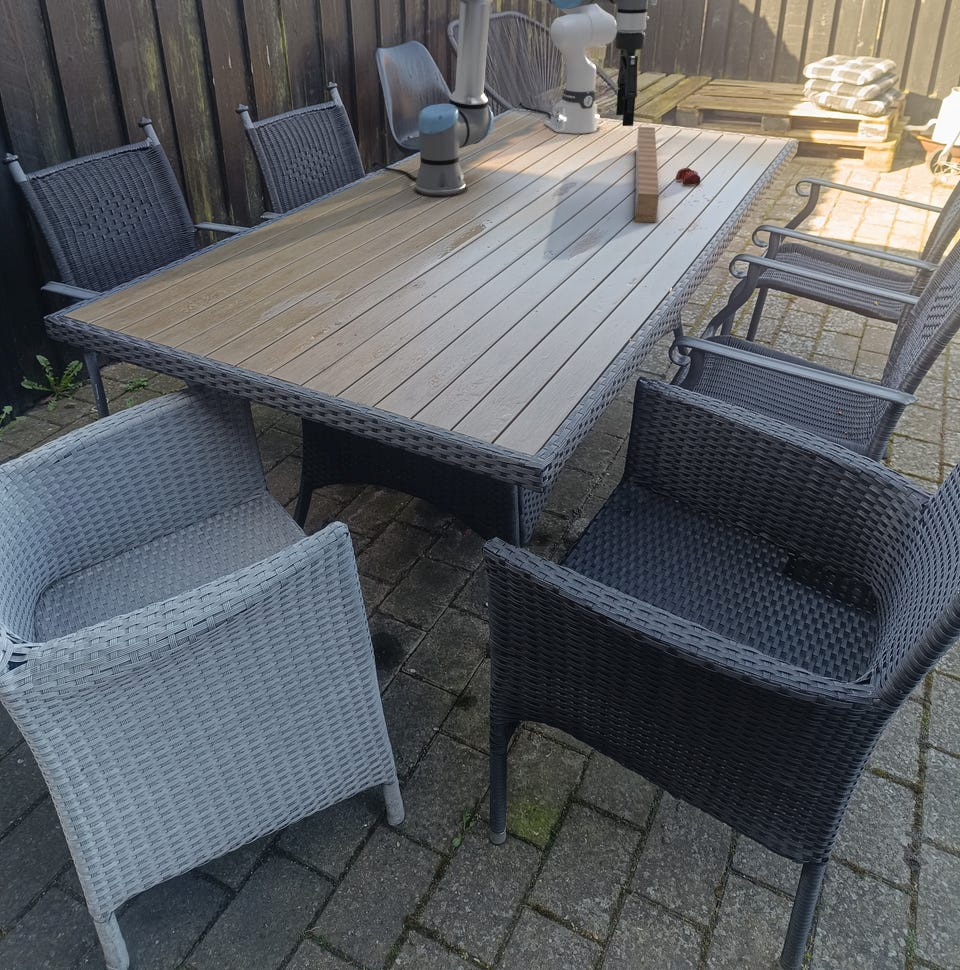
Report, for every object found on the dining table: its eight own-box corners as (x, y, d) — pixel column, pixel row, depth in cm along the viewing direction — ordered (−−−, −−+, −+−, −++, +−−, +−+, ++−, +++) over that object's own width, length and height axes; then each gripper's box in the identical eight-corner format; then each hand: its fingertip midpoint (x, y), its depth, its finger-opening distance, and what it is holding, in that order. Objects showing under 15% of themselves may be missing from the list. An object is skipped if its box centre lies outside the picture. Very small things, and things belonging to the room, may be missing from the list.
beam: (655, 222, 234) (658, 194, 229) (635, 221, 234) (638, 193, 230) (652, 150, 296) (654, 127, 291) (636, 150, 297) (638, 126, 292)
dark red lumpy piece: (691, 164, 266) (703, 171, 259) (690, 177, 268) (701, 185, 262) (675, 166, 265) (686, 173, 258) (673, 179, 267) (684, 187, 261)
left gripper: (653, 37, 204) (645, 130, 216) (638, 24, 225) (632, 110, 237) (622, 38, 204) (615, 130, 217) (610, 25, 225) (605, 110, 237)
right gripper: (668, -47, 269) (662, 3, 277) (612, -45, 263) (608, 6, 271) (679, -46, 265) (673, 5, 273) (622, -44, 258) (618, 8, 266)
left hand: (624, 120), depth 227 cm, fingers open, 13 cm apart
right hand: (640, 5), depth 272 cm, fingers open, 8 cm apart
